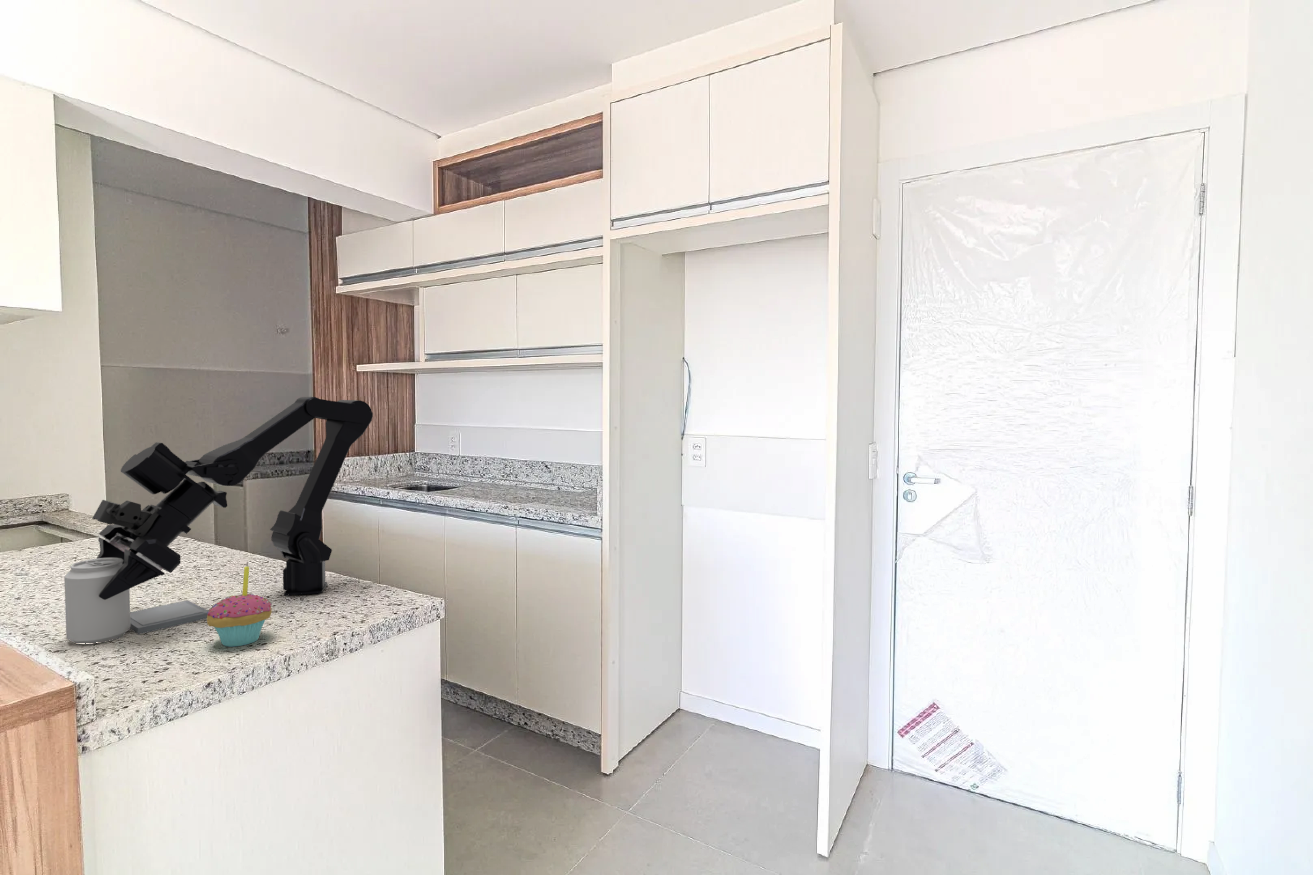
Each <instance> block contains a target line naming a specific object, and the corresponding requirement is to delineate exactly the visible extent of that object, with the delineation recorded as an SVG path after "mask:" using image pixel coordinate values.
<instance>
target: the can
mask: <svg viewBox="0 0 1313 875" xmlns="http://www.w3.org/2000/svg"><path fill="white" fill-rule="evenodd" d="M123 561H124V560H123V559H121V558H98V559H96V558H91V559H85V560H79V561H76V562H74V563H72V564H71V565H69V568H70V570H69V571H68V572H67V573H65V575H64V576H63V577H64V583H63V584H64V606H65V607H64V608H65V609H64V610H65V632H66V633H65V634H66V636H65V637H66V639H67V640H68V641H70V642H72V643H74V642H75V643H85V644H86V643H96V642H103V643H106V642H105V641H107V642H110V641H109V640H111V641H113V640H112V639H114V640H116V638H117V639H119V638H121V637H124V635H125V634H126V633H127V632H128V631H129V630H131V629H130V627H131V624H130V612H131V601H130V600H131V599H130V598H131V596H130V589H131V588H130V589H128V590H126V591H124V592H121V593H119V594H117V595H115V596H113V597H111V598H109V599H106V600H104V599H102V598H100V597H99V594H100V593H101V591H102V590H103V589H104V587H105V586H106V585H107V584H108V582H109V581H110V580H111V579H112V578H113V576H114V575H115V574H116V573H117V571H118V570H119V569H120V568H121V567H122V565H123V564H122V562H123ZM75 643H74V644H75Z"/></svg>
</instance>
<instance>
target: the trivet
mask: <svg viewBox="0 0 1313 875" xmlns="http://www.w3.org/2000/svg"><path fill="white" fill-rule="evenodd" d="M209 611H210V610H209V609H207V608H204V607H202V606H200V605H198V604H196V603H194V602H193V601H190V600H188V599H187V600H182V601H178V602H174V603H173V602H172V603H168V604H167V603H166V604H162V605H157V606H153V607H149V608H143V609H139V610H138V609H137V610H134V611H133V610H132V611H130V624H131V627H130V629H129V630H131V631H132V632H134V633H136V634H137V635H141V634H146V633H151V632H155V631H159V630H164V629H167V628H171V627H176V626H180V625H181V626H182V625H185V624H189V623H193V622H197V621H202V620H207V615H208V612H209Z"/></svg>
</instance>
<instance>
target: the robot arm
mask: <svg viewBox="0 0 1313 875" xmlns="http://www.w3.org/2000/svg"><path fill="white" fill-rule="evenodd" d="M371 408H372V407H370V405H369V404H368V403H367V402H365V401H363V400H357V399H356V400H355V399H340V400H337V401H334V400H330V399H322V398H319V397H316V396H300V397H298V398H297V399H296V400H295V401H294V403H292V404H291V405H289V406H287V407H286V408H284V410H282V411H279V413H277V414H276V415H275V416H273V417H272V418H270V419H269V420H267V421H266V422H265V423H263V424H261V425H260V426H258V427H256V428H255V429H254V430H253V431H251V432H250V433H248V434H247V435H245V436H244V437H241V438H239V439H238V440H235V441H232V442H230V443H226V444H223V445H221V446H219V447H217V448H215V449H213V450H211V451H209V452H206V453H204V454H203V455H202V456H201V457H200V458H199V459H193V460H186V461H184V460H183V459H182V458H180V457H179V456H177V455H176V454H175V453H174V452H172V451H171V450H170V448H169V447H168V446H167V445H165V443H163V442H159V441H157V442H154V444H152V445H151V446H149V447H147V448H144V449H143V450H141V451H139V452H138V453H137V454H133V455H132V456H130V458H129V459H127V460H126V461H125V463H124V464H123V465H122V466H121V468H120V472H121V473H122V474H123V475H124V476H126V477H127V478H129V479H130V480H132V481H133V482H134V483H136V485H138V486H139V487H142V489H144V490H146V491H147V492H148V493H150V494H151V495H156V494H159V493H162V494H163V495H165V494H166V495H165V497H163V498H162V499H161V500H160V501H159V502H158V503H157V504H156V505H154V504H150V505H149V504H148V505H146V506H144V508H143V509H142V505H141V504H140V503H137V502H134V501H131V500H125V501H124V502H122V503H116V502H112V501H108V500H105V499H102V500H101V502H100V503H99V506H98V507H97V509H96V511H95V513H94V515H93V516H92V520H96V521H97V522H99V523H103V524H107V525H106V526H105V527H104V528H103V529H102V530H101V531H100V532H99V533H98V535H100V536H101V537H102V538H101V537H98V539H97V541H98V544H99V554H98V556H97V557H96V558H95V559H98V558H121V559H123V560H124V561H123V562H122V564H123V565H122V567H121V568H120V569H119V570H118V571H117V573H116V574H115V575H114V576H113V578H112V579H111V580H110V581H109V582H108V584H107V585H106V586H105V587H104V589H103V590H102V591H101V593H100V594H99V597H100V598H102V599H104V600H106V599H109V598H111V597H113V596H115V595H117V594H119V593H121V592H124V591H126V590H128V589H132V588H134V587H136V586H139V585H140V584H143V583H145V582H148V581H151V580H153V579H155V578H158V577H159V576H160V577H161V576H163V575H165V574H166V573H165V572H168V573H170V574H171V573H173V571H174V570H176V569H177V568H178V566H179V565H180V564H181V554H180V553H179V552H177V551H175V550H174V549H172V548H170V547H169V546H170V545H171V544H172V543H173V542H174V541H175V540H176V539H177V538H178V537H179V536H180V535H181V534H182V533H183V534H186V535H187V534H188V533H189V532H190V531H191V530H192V528H191V527H189V526H191V524H192V523H193V522H194V521H195V520H196V519H198V517H199V516H200V515H202V513H204V512H205V510H207V509H208V508H209V507H210V506H211V505H212V504H213V505H215V506H217V507H219V508H224V509H225V508H227V507H228V501H227V495H228V493H227V491H224V490H216V489H215V488H213V487H212V486H210V485H209V484H208V483H210V484H214V485H218V486H223V487H233V486H236V485H237V484H239V483H242V482H243V480H244V479H245V478H247V477H248V476H249V474H250V473H251V472H253V470H254V469H256V467H257V465H258V463H259V462H260V460H261V459H262V458H263V457H264V456H265V455H266V454H267V453H268V452H270V451H271V450H273V449H274V448H275V447H276V446H278V445H279V444H281V443H282V442H284V441H285V440H286V439H288V438H289V437H290V436H292V435H293V434H294V433H296V432H298V431H299V430H300V429H301V428H303V427H304V426H305V425H307V424H309V423H310V422H312V421H313V420H314V419H320V420H323V421H324V420H325V439H324V442H323V444H322V446H321V449H320V450H319V452H318V455H317V457H316V460H315V461H314V464H313V466H312V468H311V470H310V471H309V475H308V477H307V479H306V482H305V484H304V486H303V488H302V491H301V492H300V495H299V497H298V499H297V501H296V503H295V505H294V506H293V507H292V508H291V509H289V511H286V510H280V511H279V512H278V513H277V517H276V520H275V523H274V524H273V526H272V527H270V529H269V530H270V531H271V532H272V533H271V538H270V539H271V540H270V541H271V542H272V544H273V546H274V548H275V549H276V550H279V551H280V553H281V555H282V558H284V559H287V560H286V561H285V567H284V568H283V570H282V588H283V591H284V592H283V596H297V595H299V596H300V595H301V596H302V595H312V594H313V595H314V594H322V593H323V591H324V590H325V589H326V587H327V586H328V581H326V561H330V558H331V555H332V552H333V550H332V548H331V547H329V545H327V544H325V543H324V541H322V540H321V539H320V538H321V533H322V531H323V519H322V517H323V515H322V513H323V510H324V508H325V505H326V504H327V501H328V498H329V496H330V494H331V491H332V489H333V487H334V486H335V482H336V481H337V478H338V476H339V473H340V471H341V469H342V467H343V465H344V462H345V460H346V457H347V455H348V453H349V451H350V449H351V447H352V445H353V444H354V443H356V441H357V440H358V439H360V437H361V436H363V435H364V434H365V432H366V430H367V429H368V427H369V426H370V424H371V422H372V420H373V417H374V413H373V411H372V409H371ZM188 475H189V476H188ZM190 476H193V477H198V478H201V479H202V480H203V481H199V482H196V481H194V479H192V478H191V477H190ZM162 570H163V571H162ZM164 571H165V572H164Z"/></svg>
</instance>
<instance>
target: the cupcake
mask: <svg viewBox="0 0 1313 875" xmlns="http://www.w3.org/2000/svg"><path fill="white" fill-rule="evenodd" d="M249 576H250V566H249V561H248V560H247V561H246V566H244V568H243V580H242V593H241V594H239V595H233V594H232V595H229V596H227V597H225V598H224V599H223V598H222V599H221V600H220V601H219V602H216V604H214V605H212V607H211V608H209V609H208V611H209V612H208V615H207V619H206V622H207V623H206V624H207V626H208V627H213V628H214V629H215V630H216V631H215V632H216V633H217V635H218V637H219V639H220V642H221V644H222V645H223V646H224V647H230V648H231V647H241V646H245V645H250V644H252V643H255V642H257V641H258V640H259V637H260V634H261V631H262V629H263V626H264V624H265V621H267V620H268V619H270V617H271V616H272V613H273V608H272V604H273V603H272V602H271V601H269V600H268V598H266V597H264V596H262V595H258V594H256V595H255V594H252V593H249V592H248V590H249V589H248V588H249Z"/></svg>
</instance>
